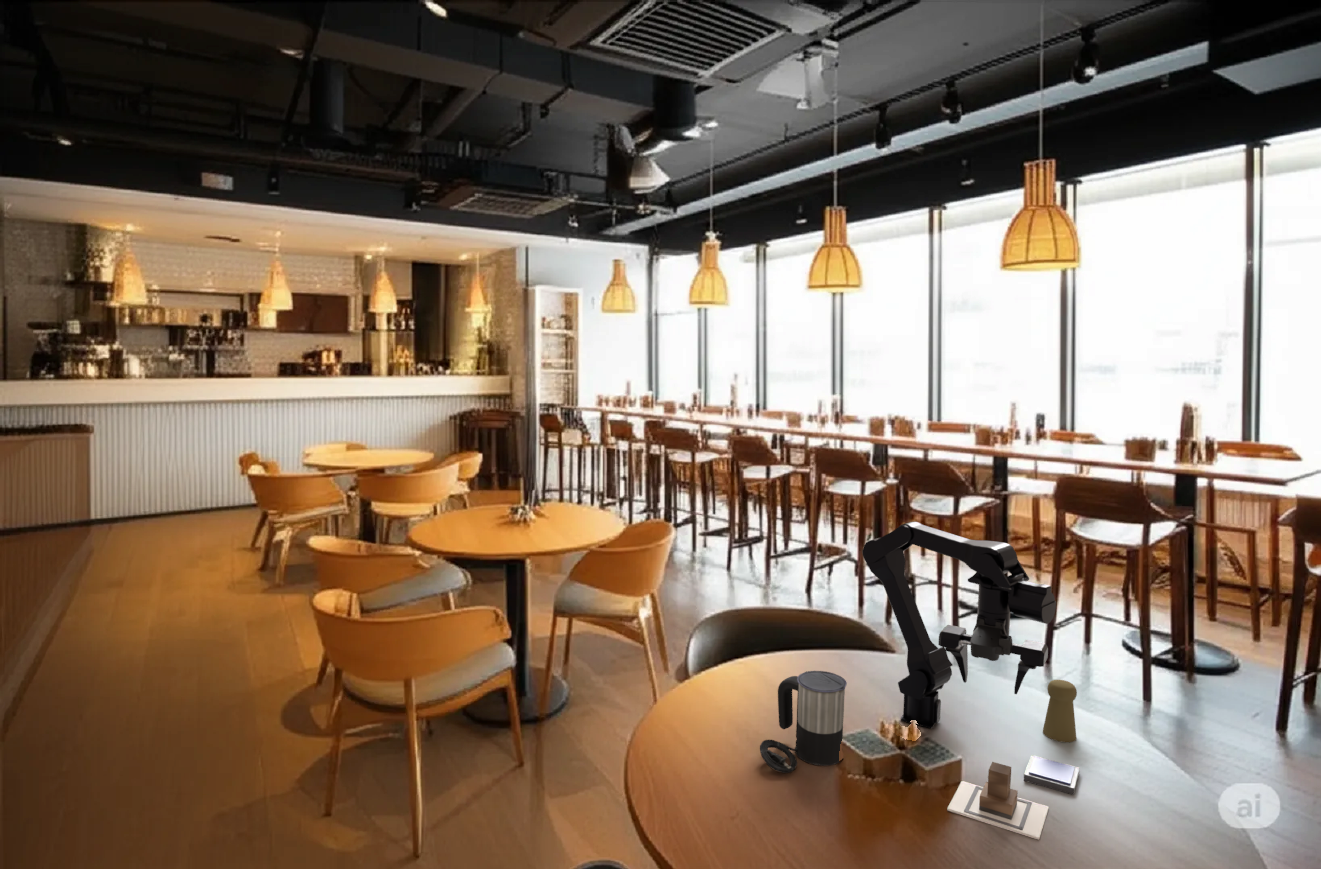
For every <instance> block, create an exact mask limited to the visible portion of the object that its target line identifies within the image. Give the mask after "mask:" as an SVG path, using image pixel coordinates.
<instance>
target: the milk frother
mask: <svg viewBox="0 0 1321 869" xmlns="http://www.w3.org/2000/svg"><path fill="white" fill-rule="evenodd" d="M847 683H848V682H847V680H846V679H845V678H843V677H842V676H841V675H839V674H836V673H834V672H830V671H824V670H808V671H804V672H802V673H800V674H798V675H792V676H788V677H787V678H785V679H784V680H782V681H781V682H780V683H779V685H778V686H777V706H778V708H777V710H778V726H779V727H780V728H781V729H782V730H786V729H789V728H790V727H792V726H793V724H794V723H793V721H794V720H793V719H794V717H793V715H794V714H793V711H794V710H793V690H794V691H796V692H797V701H796V702H797V703H796V727H795V728H796V729H795V733H796V734H795V737H796V741H795V747H794V748H793V747H791V746H788V745H786V744H785V743H782V742H780V741H778V740H774V739H765V740H763V741H761V743H760V745H759V751H760V755H761V758H762V759H763V761H764V762H765V764H766V765H767V766H768V767H769V768H770V769H772V770H774V771H776V772H779V773H784V774H785V773H786V774H788V773H791V772H793V771H794V770H795V769H796V768H797V766H798V762H797V758H796V756H797V757H798V758H799V759H800V760H802V761H803V762H806V763H808V764H811V765H815V766H824V767H825V766H828V767H829V766H834V765H836V764H839V763H840V762H839V751H840V744H841V741H842V739H843V738H844V736H843V735H844V717H845V716H844V714H845V713H844V712H845V695H846V694H845V691H846V687H847ZM843 740H844V739H843ZM771 748H773V749H776V750H779V751H780V752H782V753H783V754H785V755H786V757H783V756H782V755H780V754H779V753H776V752H774V751H772V750H770V749H771ZM792 751H793V752H794V753H795V755H796V756H795V755H794V753H793V752H792ZM787 758H788V759H789V763H790V764H788V763H787V762H786V760H787Z"/></svg>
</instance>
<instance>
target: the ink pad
mask: <svg viewBox="0 0 1321 869" xmlns="http://www.w3.org/2000/svg"><path fill="white" fill-rule="evenodd" d="M1079 777H1080V767H1078V766H1074V765H1070V764H1068V763H1063V762H1059V761H1055V760H1052V759H1049V758H1044V757H1040V756H1036V755H1034V754H1031V755H1030V758H1029V761H1028V763H1027V766H1026V768H1025V771H1024V773H1023V781H1024V782H1028V783H1031V784H1035V785H1037V786H1041V787H1046V788H1049V789H1053V790H1055V791H1059V792H1061V793H1064V794H1065V793H1066V794H1070V795H1073V796H1075V791H1076V787H1077V783H1078V780H1079Z"/></svg>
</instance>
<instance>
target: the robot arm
mask: <svg viewBox="0 0 1321 869" xmlns="http://www.w3.org/2000/svg"><path fill="white" fill-rule="evenodd" d="M913 545H914V546H915V547H916V546H917V547H920V548H922V549H925V550H929V551H930V552H935V553H938V554H941V555H942V556H947V557H950V558H951V559H952V558H953V559H956V560H959V561H960V562H962V563H964V564H965V565H966V566H967V567H968V568H969V569H970V570H972V571H974V572H975V573H974V574H973V575H972V576H970V577H969V578H967V582H968V583H970V584H975V585H978V596H977V597H978V598H977V600H978V601H977V615H976V623H975V626H974V628H973V631H972V634H968V633H967V629H966V627H962V626H956V625H951V624H947V625H946V626H945V627H944V628H943V629H942V630H941V631H940V632H939V634H938V646H940V647H938V646H937V645H936V644H934V643H933V642H932V640H931V638H930V634H928V630H927V628H926V626H925V623H924V621H923V618H922V616H921V613H920V610H919V609H918V605H917V603H916V600H915V598H914V596H913V593H912V590H911V588H910V586H909V583H908V581H907V578H906V574H905V573H906V572H905V571H906V570H905V569H906V557H905V551H906V550H908V549H910V548H911V547H912V546H913ZM861 553H862V558H863V560H864V561H865V564H866V565H867V567H868V569H869V570H870V572H871V574H873V575H874V576H875V577H876V578H877V579H878V580H879V581H880V582H881V583H882V586H883V588H884V591H885V593H886V596H887V599H888V601H889V603H890V606H891V609H892V611H893V614H894V616H895V619H896V622H897V624H898V627H899V628H900V632H901V634H902V637H903V640H904V642H905V644H906V647H907V654H906V655H907V656H906V657H907V659H906V667H907V671H908V675H907V676H906V677H903V678H902V679H901V680H899V681H898V682H897V685H898V688H899V689H898V690H899V692H900V694H903V711H902V712H903V713H902V715H901V716H900V721H902V722H904V723H908V722H910V721H911V720H916V721H917V723H918V724H919V725H921V727H924V728H928V729H933V728H934V726H935V725H936V724H937V723H938V722H939V721H940V720H941V710H942V709H941V707H942V706H941V705H942V700H941V699H940V698H939V690H941V689H943V687H944V685H945V684H947V683H948V682H949V681H950V680H951V678H952V676H953V671H952V667H953V663H952V662H951V661H950V659H949V656H948V653H947V652H949V653H950V654H951V655H953V657H954V660H955V661H956V664H957V666H958V669H959V672H960V676H961V678H962V681H963V683H965V684H966V683H967V681H968V672H969V666H968V665H969V664H968V663H969V661H968V659H969V658H968V655H969V654H968V653H969V652H968V651H969V650H968V646H970V655H971V656H972V657H974V658H977V659H978V658H981V659H985V660H988V661H991V662H994V661H995V662H996V661H998V660H999V658H1000V656H1005V655H1006V656H1010V655H1012V654H1013V655H1016V656H1017V655H1018V656H1019V659H1020V660H1019V662H1018V664H1017V673H1016V678H1015V683H1014V691H1013V692H1014V695H1017V694H1018V692H1019V690H1020V688H1021V686H1022V683H1023V680H1024V678H1025V676H1026V674H1027V673H1028V672H1029V671H1030V670H1035V669H1037V667H1038V668H1039V667H1044V666H1045V664H1046V661H1047V660H1048V658H1049V655H1048V654H1049V646H1048V645H1047V644H1046V643H1045V642H1041V641H1036V640H1035V641H1034V640H1029V639H1025V640H1024V642H1023V643H1022V644H1020V643H1013V638H1012V635H1010V623H1011V622H1010V621H1011V613H1012V614H1013V615H1014V616H1016V617H1019V618H1023V619H1027V620H1030V621H1034V622H1036V623H1037V622H1038V623H1042V624H1045V625H1048V624H1049V623H1051V622H1052V620H1053V619H1054V616H1055V613H1056V609H1057V601H1056V598H1055V595H1054V593H1053V592H1052V586H1051V585H1049V584H1044V583H1043V584H1040V583H1036V582H1035V583H1034V582H1030V577H1029V575H1028V574H1027V572H1026V571H1025V569H1024V567H1023V566H1022V564H1021V563H1020V560H1019V559H1018V554H1017V552H1016V551H1015V549H1014V546H1012V545H1011V544H1009V543H1007V542H1002V541H996V540H995V541H993V540H981V539H980V540H977V539H969V538H966V537H963V536H959V535H956V534H953V533H950V532H947V531H944V530H940V529H937V528H934V527H930V526H927V525H924V524H922V523H921V522H918V521H909V522H905V523H902V524H899V526H898V527H896V528H895V529H894V530H892V531H890V532H887V534H885V535H883V536H880V537H878V538H874V539H871V540H868V541H867V542H866V543H865V544H864V545H863V548H862V549H861ZM1007 573H1009V574H1010V575H1007V576H1006V575H1005V574H1007ZM919 725H918V726H919Z"/></svg>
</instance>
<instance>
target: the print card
mask: <svg viewBox="0 0 1321 869" xmlns="http://www.w3.org/2000/svg"><path fill="white" fill-rule="evenodd" d="M983 787H984V786H980V785H977V784H974V783H970V782H968V781H964V780H962V781H960V783H959V785H958V788H957V790H956V791H955V792H954V795H953V797H952V798H951V801H950V803H949V805H948V806H947V812H951V813H953V814H957V815H962V816H964V817H967V818H970V819H973V820H975V821H979V822H982V823H986V824H988V825H992V826H994V827H998V828H1001V829H1003V830H1007V831H1011V832H1013V833H1016V834H1020V835H1023V836H1026V837H1029V838H1032V839H1035V840H1038V841H1039V840H1040V838H1041V834H1042V831H1043V828H1044V826H1045V823H1046V818H1047V816H1048V813H1049V807H1050V806H1049V805H1048V806H1047V805H1044V804H1041V803H1037V802H1034V801H1031V800H1028V799H1024V798H1020V797H1018V796H1017V806H1016V809H1015V812H1014V814H1013V817H1012V820H1009V819H1006V818H1003V817H1000V816H997V815H993V814H990V813H987V812H984V811H981V810H979V802H980V794H981V792H982V790H983Z"/></svg>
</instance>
